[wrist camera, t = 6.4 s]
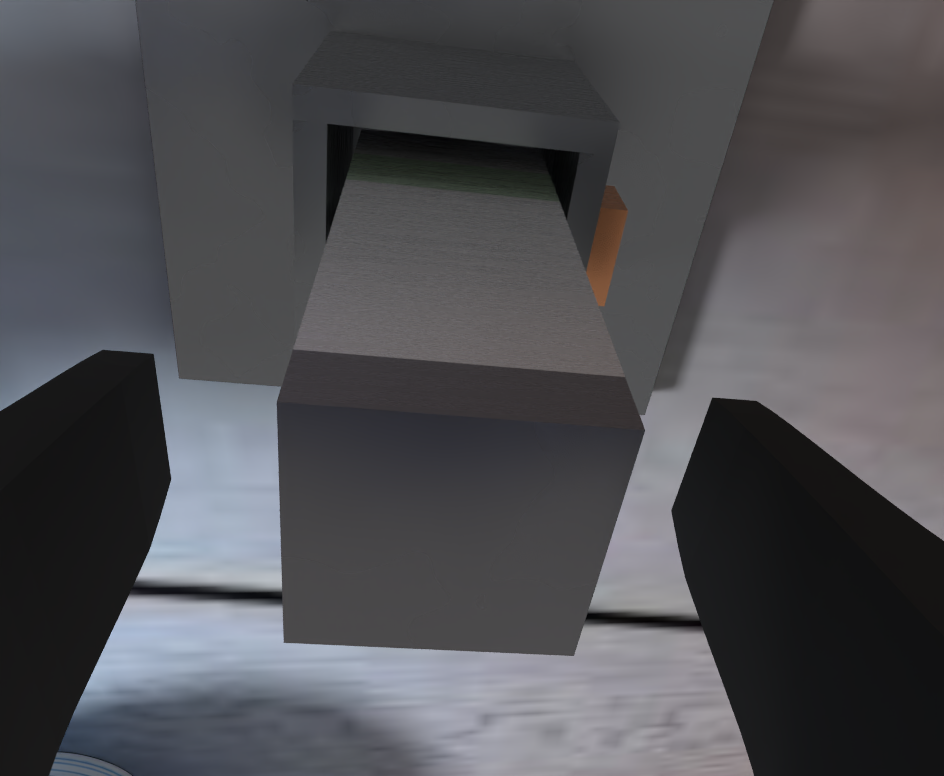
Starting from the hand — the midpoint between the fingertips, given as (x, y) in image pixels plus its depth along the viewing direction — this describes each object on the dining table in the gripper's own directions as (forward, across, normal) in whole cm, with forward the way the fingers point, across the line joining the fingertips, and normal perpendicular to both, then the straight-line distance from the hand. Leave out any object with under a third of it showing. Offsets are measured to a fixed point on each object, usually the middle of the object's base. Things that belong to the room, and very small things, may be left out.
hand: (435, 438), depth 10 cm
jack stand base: (+9, 0, -1) cm, 9 cm away
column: (+5, 0, -1) cm, 5 cm away
